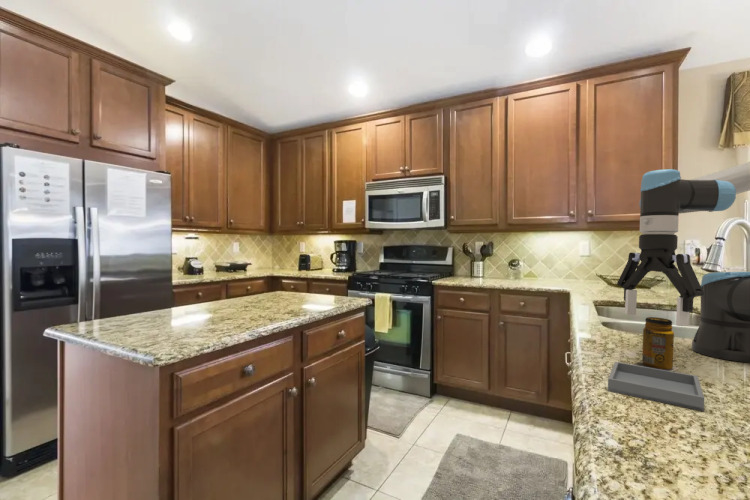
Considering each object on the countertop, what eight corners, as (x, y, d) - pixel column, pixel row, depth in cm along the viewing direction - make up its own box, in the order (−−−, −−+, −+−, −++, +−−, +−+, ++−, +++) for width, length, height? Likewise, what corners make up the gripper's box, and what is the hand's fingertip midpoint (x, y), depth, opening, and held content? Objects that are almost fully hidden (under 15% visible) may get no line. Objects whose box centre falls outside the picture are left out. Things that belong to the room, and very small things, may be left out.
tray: (614, 372, 86) (615, 361, 86) (697, 387, 77) (697, 375, 77) (607, 390, 74) (608, 378, 74) (703, 411, 65) (704, 397, 65)
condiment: (679, 368, 89) (681, 320, 89) (666, 375, 85) (667, 323, 85) (645, 360, 95) (646, 315, 95) (630, 366, 91) (631, 318, 91)
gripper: (604, 234, 101) (601, 310, 101) (699, 231, 77) (695, 331, 77) (627, 235, 103) (624, 310, 103) (727, 232, 78) (723, 331, 78)
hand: (654, 319), depth 90 cm, fingers open, 13 cm apart
